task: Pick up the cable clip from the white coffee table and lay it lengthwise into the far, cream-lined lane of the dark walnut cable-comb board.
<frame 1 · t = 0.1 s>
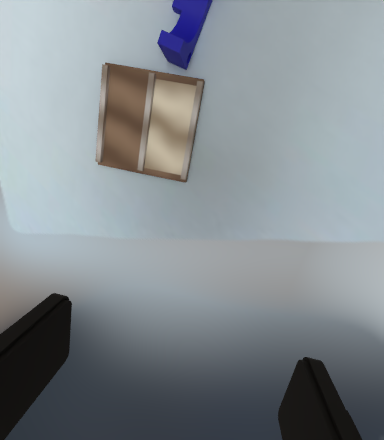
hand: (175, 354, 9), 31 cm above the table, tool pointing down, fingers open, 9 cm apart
cable clip: (188, 19, 33), on the table
organizer board: (149, 125, 37), on the table
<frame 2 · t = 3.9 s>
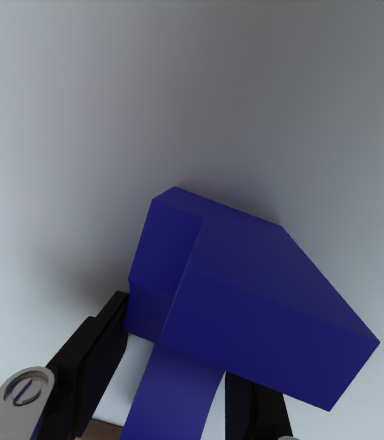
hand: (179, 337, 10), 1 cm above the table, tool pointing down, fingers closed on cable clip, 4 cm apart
cable clip: (180, 321, 11), on the table, touching gripper
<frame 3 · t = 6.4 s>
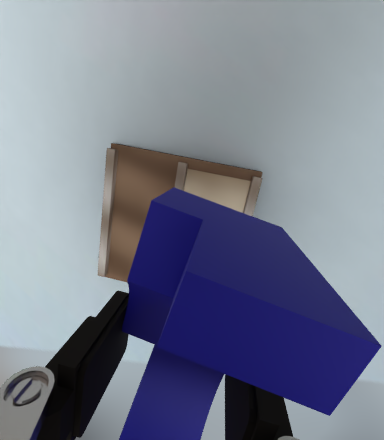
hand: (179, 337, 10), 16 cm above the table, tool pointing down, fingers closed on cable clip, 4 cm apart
cable clip: (179, 322, 11), point 15 cm above the table, touching gripper
organizer board: (174, 227, 26), on the table
when the fingers open (3 cm above the table, at t = 9.2 s): cable clip drops 1 cm, resting on organizer board.
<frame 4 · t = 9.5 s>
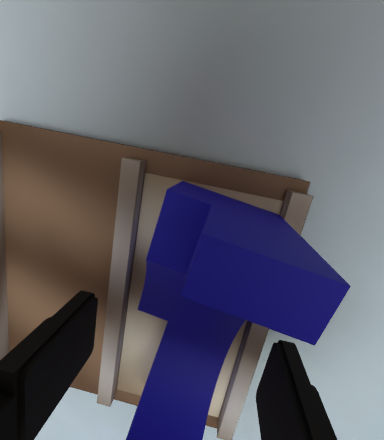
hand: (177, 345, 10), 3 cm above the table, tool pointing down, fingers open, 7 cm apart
cable clip: (189, 304, 12), point 1 cm above the table, touching organizer board
organizer board: (128, 283, 13), on the table
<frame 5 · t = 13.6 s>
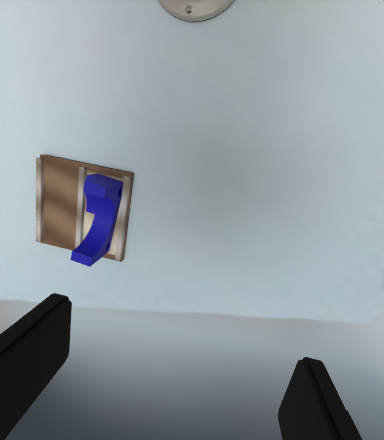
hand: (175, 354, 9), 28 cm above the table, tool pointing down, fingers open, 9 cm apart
cable clip: (104, 213, 38), point 1 cm above the table, touching organizer board
organizer board: (85, 208, 39), on the table
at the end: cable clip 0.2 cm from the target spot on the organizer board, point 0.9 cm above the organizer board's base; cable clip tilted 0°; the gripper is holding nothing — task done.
